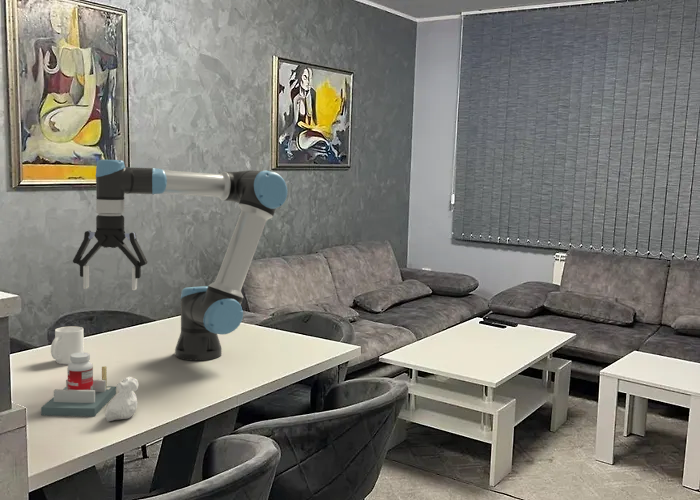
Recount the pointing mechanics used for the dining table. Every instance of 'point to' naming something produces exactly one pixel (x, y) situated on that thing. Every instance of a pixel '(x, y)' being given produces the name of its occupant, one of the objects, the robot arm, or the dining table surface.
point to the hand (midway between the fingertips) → (110, 289)
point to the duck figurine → (123, 400)
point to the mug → (67, 343)
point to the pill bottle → (80, 372)
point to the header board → (80, 399)
